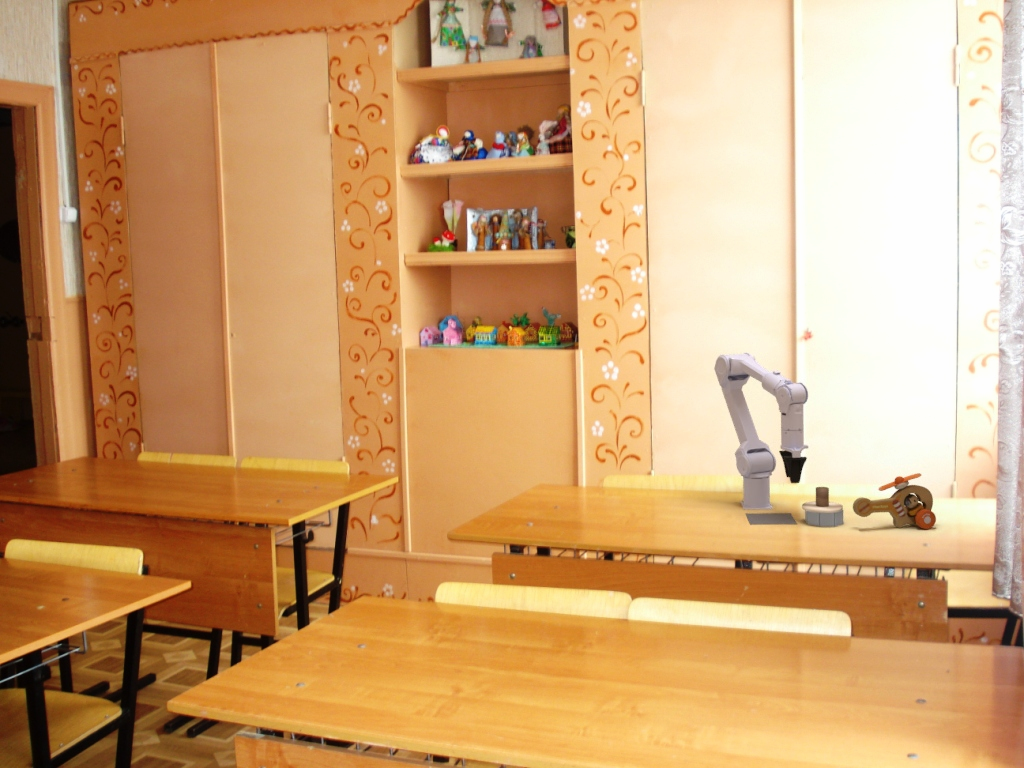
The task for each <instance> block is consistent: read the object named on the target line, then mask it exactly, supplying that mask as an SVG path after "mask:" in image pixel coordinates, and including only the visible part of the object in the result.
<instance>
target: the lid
mask: <svg viewBox="0 0 1024 768" xmlns="http://www.w3.org/2000/svg"><path fill="white" fill-rule="evenodd" d="M829 492H830V488H829V487H827V486H817V487H815V500H813V501H806V502H804V503H802V505H801V508H802V510H804V512H805V511H809V512H815V513H835V512H840V511H842V510H843V511H844V508H843V507H844V506H843V505H842V504H841V503H837V502H834V501H830V500H829V499H830V494H829Z"/></svg>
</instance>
